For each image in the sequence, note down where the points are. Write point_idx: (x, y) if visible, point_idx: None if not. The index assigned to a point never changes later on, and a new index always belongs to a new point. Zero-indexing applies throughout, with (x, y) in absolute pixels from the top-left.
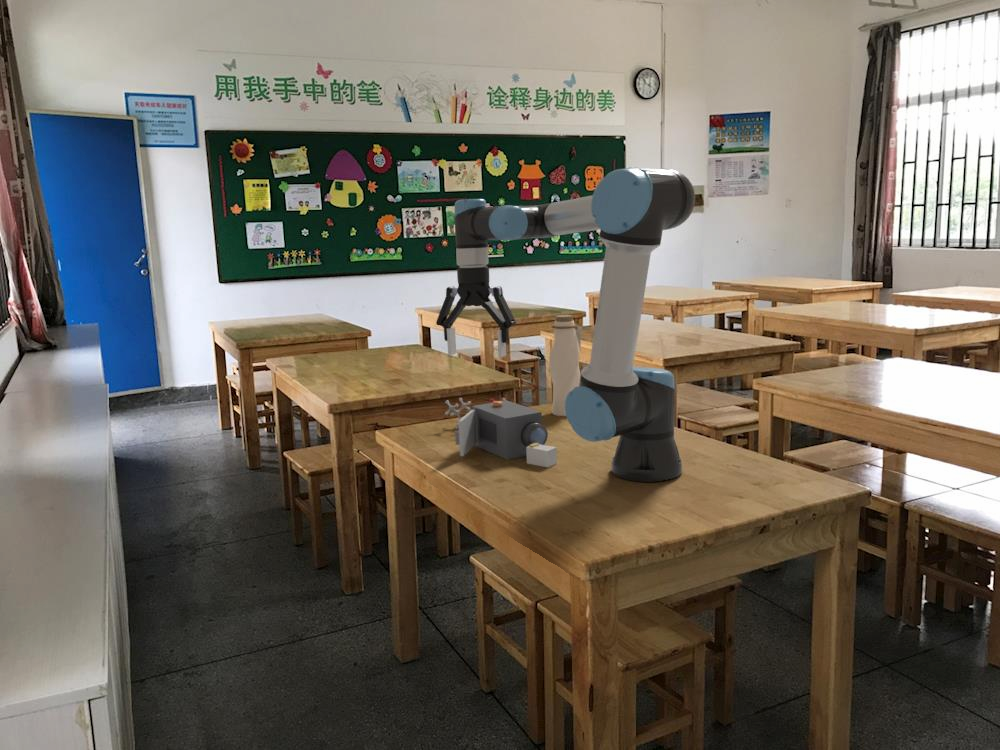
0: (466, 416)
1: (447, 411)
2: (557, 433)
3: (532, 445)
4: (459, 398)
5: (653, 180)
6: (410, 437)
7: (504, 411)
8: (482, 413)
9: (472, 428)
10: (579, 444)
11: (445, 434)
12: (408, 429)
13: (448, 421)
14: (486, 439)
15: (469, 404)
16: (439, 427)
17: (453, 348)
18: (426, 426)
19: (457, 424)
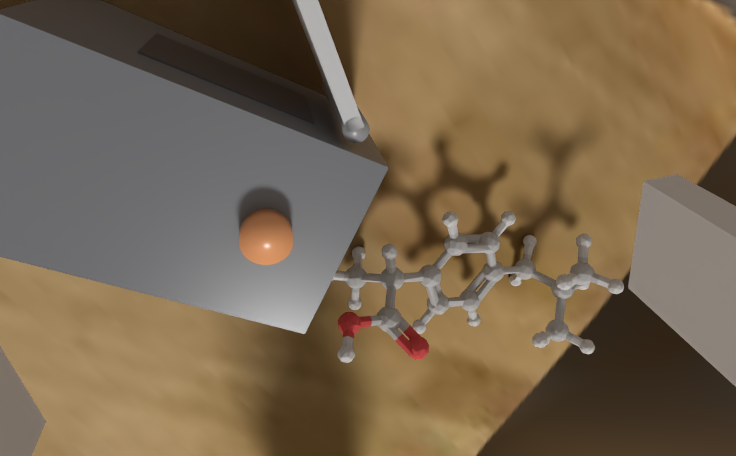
0: None
1: (585, 248)
2: (179, 367)
3: None
4: (593, 346)
5: None
6: (638, 69)
7: (142, 154)
8: (282, 119)
9: (318, 63)
10: (6, 310)
11: (531, 168)
12: (689, 151)
13: (598, 292)
14: (247, 71)
15: (535, 335)
16: (594, 225)
17: (681, 279)
18: None
19: (508, 213)
